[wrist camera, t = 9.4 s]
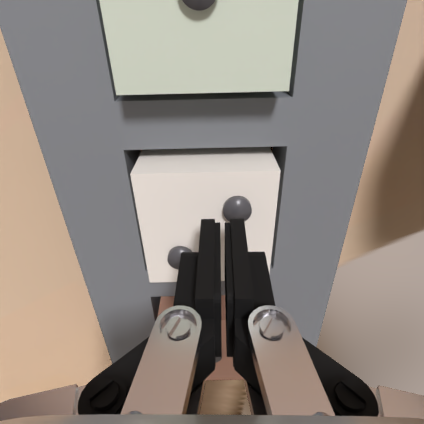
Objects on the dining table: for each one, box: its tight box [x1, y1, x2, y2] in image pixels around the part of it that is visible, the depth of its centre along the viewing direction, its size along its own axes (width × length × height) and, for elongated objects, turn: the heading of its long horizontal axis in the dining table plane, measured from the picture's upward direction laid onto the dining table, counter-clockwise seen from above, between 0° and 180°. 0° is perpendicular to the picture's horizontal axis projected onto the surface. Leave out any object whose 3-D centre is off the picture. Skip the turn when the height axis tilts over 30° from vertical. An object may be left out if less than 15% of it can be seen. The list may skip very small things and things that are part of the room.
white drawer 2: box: [130, 147, 281, 283], centre depth 15 cm, size 6×6×4 cm
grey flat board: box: [0, 0, 407, 364], centre depth 16 cm, size 14×26×3 cm, turn 1°
